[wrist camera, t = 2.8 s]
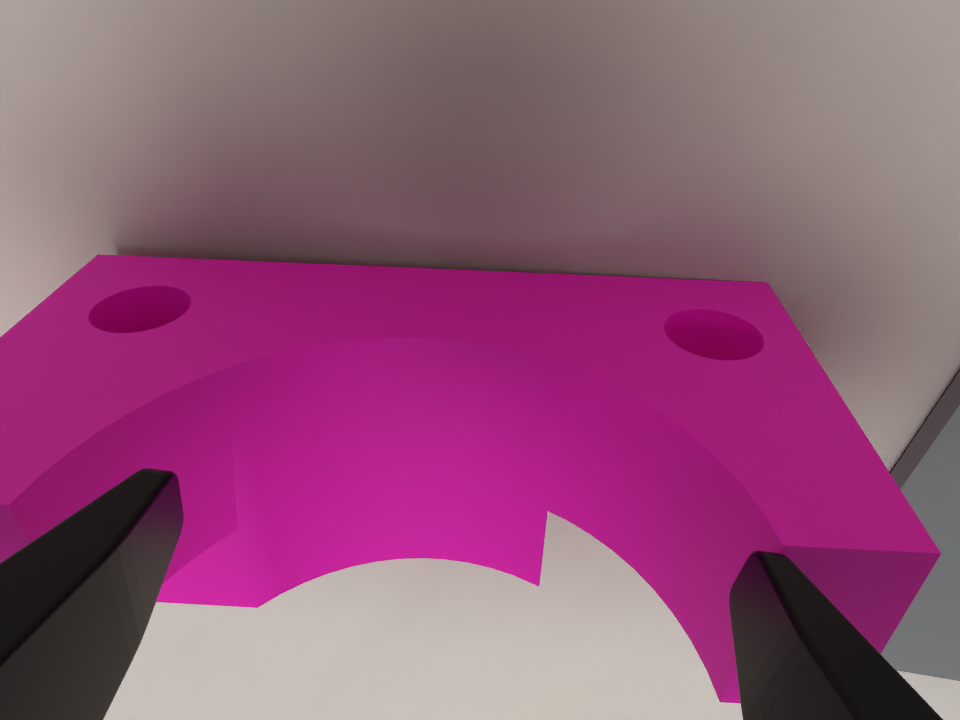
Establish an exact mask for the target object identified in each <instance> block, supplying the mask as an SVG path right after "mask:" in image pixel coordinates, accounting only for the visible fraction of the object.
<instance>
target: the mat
mask: <svg viewBox="0 0 960 720" xmlns="http://www.w3.org/2000/svg"><path fill="white" fill-rule="evenodd" d="M890 474H891V476H892V478H893V479H894V481H895V482H896V484H897V485H898V487H899V488H900V490H901V492H902V493H903V495H904V496H905V498H906V499H907V501H908V502H909V504H910V506H911V507H912V509H913V510H914V512H915V513H916V515H917V516H918V518H919V520H920V521H921V523H922V524H923V526H924V527H925V529H926V531H927V532H928V534H929V535H930V537H931V538H932V540H933V541H934V543H935V545H936V546H937V548H938V549H939V551H940V552H941V555H940V557H939V558H938V560H937V562H936V563H935V565H934V567H933V568H932V570H931V572H930V573H929V575H928V577H927V578H926V580H925V582H924V583H923V585H922V587H921V588H920V590H919V592H918V593H917V595H916V596H915V598H914V600H913V601H912V603H911V605H910V606H909V608H908V610H907V611H906V613H905V615H904V616H903V618H902V620H901V621H900V623H899V625H898V626H897V628H896V630H895V631H894V633H893V634H892V636H891V638H890V639H889V641H888V643H887V644H886V646H885V648H884V649H883V651H882V653H881V655H882V656H883V657H884V658H885V659H886V660H887V661H888V663H889V664H890V665H891V666H892V667H893V668H894V669H895V670H898V671H904V672H910V673H916V674H922V675H928V676H934V677H940V678H946V679H952V680H958V681H960V371H959V372H958V374H957V375H956V377H955V378H954V380H953V381H952V383H951V384H950V386H949V387H948V389H947V390H946V392H945V393H944V395H943V396H942V398H941V399H940V400H939V402H938V403H937V405H936V406H935V408H934V409H933V411H932V412H931V414H930V415H929V417H928V418H927V420H926V421H925V423H924V424H923V426H922V427H921V429H920V430H919V432H918V433H917V435H916V436H915V438H914V439H913V440H912V442H911V443H910V445H909V446H908V448H907V449H906V451H905V452H904V454H903V455H902V457H901V458H900V460H899V461H898V463H897V464H896V466H895V467H894V469H893V470H892V472H891V473H890Z"/></svg>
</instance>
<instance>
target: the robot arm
mask: <svg viewBox="0 0 960 720" xmlns="http://www.w3.org/2000/svg"><path fill="white" fill-rule="evenodd" d="M183 521H184V513H183V506H182V499H181V493H180V486H179V480H178V477H177V475H176V474H175V473H174V472H172V471H167V470H159V469H152V468H144V469H141V470H138V471H137V472H135V473H134V474H132V475H131V476H129V477H128V478H126V479H125V480H123V481H122V482H120V483H119V484H117V485H116V486H114V487H113V488H111V489H110V490H108V491H107V492H105V493H104V494H102V495H101V496H99V497H98V498H96V499H95V500H93V501H92V502H90V503H89V504H87V505H86V506H84V507H83V508H81V509H80V510H78V511H77V512H75V513H74V514H72V515H71V516H69V517H68V518H66V519H65V520H63V521H62V522H60V523H59V524H57V525H56V526H54V527H53V528H52V529H50V530H49V531H47V532H46V533H44V534H43V535H41V536H40V537H38V538H37V539H35V540H34V541H32V542H31V543H29V544H28V545H26V546H25V547H23V548H22V549H20V550H19V551H17V552H16V553H14V554H13V555H11V556H10V557H8V558H7V559H5V560H4V561H2V562H1V563H0V720H103V719H104V717H105V715H106V713H107V711H108V709H109V707H110V705H111V703H112V701H113V698H114V696H115V694H116V692H117V690H118V688H119V686H120V684H121V682H122V680H123V678H124V676H125V674H126V672H127V670H128V668H129V666H130V664H131V662H132V660H133V658H134V656H135V654H136V651H137V649H138V647H139V645H140V643H141V640H142V638H143V635H144V633H145V630H146V627H147V625H148V622H149V619H150V617H151V614H152V611H153V608H154V606H155V603H156V600H157V597H158V595H159V592H160V589H161V586H162V584H163V581H164V578H165V575H166V573H167V570H168V567H169V564H170V562H171V559H172V556H173V553H174V551H175V548H176V545H177V542H178V540H179V537H180V534H181V531H182V527H183ZM729 610H730V618H731V627H732V635H733V643H734V652H735V660H736V669H737V677H738V686H739V694H740V701H741V708H742V715H743V720H943V719H942V718H941V717H940V716H939V715H938V714H937V713H936V712H935V711H934V710H933V709H932V708H931V707H930V706H929V705H928V703H927V702H926V701H925V700H924V699H923V698H922V697H921V696H920V695H919V694H918V693H917V692H916V691H915V690H914V689H913V688H912V687H911V686H910V685H909V684H908V682H907V681H906V680H905V679H904V678H903V677H902V676H901V675H900V674H899V673H898V672H897V671H896V670H895V669H894V668H893V667H892V666H891V665H890V664H889V663H888V661H887V660H886V659H885V658H884V657H883V656H882V655H881V654H880V653H879V652H878V651H877V650H876V649H875V648H874V647H873V646H872V645H871V644H870V643H869V642H868V640H867V639H866V638H865V637H864V636H863V635H862V634H861V633H860V632H859V631H858V630H857V629H856V628H855V627H854V626H853V625H852V624H851V623H850V622H849V621H848V619H847V618H846V617H845V616H844V615H843V614H842V613H841V612H840V611H839V610H838V609H837V608H836V607H835V606H834V605H833V604H832V603H831V602H830V601H829V600H828V599H827V597H826V596H825V595H824V594H823V593H822V592H821V591H820V590H819V589H818V588H817V587H816V586H815V585H814V584H813V583H812V582H811V581H810V580H809V579H808V578H807V576H806V575H805V574H804V573H803V572H802V571H801V570H800V569H799V568H798V567H797V566H796V565H795V564H794V563H793V562H792V561H791V560H790V559H789V558H788V557H787V556H785V555H783V554H780V553H773V552H765V551H754V552H753V553H751V554H750V555H749V557H748V558H747V560H746V562H745V563H744V565H743V567H742V569H741V571H740V572H739V574H738V576H737V578H736V579H735V581H734V583H733V585H732V587H731V590H730V594H729Z"/></svg>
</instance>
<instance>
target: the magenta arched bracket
mask: <svg viewBox="0 0 960 720" xmlns="http://www.w3.org/2000/svg"><path fill="white" fill-rule="evenodd" d="M144 468H152V469H159V470H167V471H172V472H174V473H175V474H176V475H177V477H178V480H179V486H180V493H181V499H182V506H183V513H184V521H183V527H182V531H181V534H180V537H179V540H178V542H177V545H176V548H175V551H174V553H173V556H172V559H171V562H170V564H169V567H168V570H167V573H166V575H165V578H164V581H163V584H162V586H161V589H160V592H159V595H158V597H157V600H156V602H167V603H185V604H203V605H221V606H239V607H257V608H258V607H259V606H261V605H263V604H264V603H266V602H268V601H269V600H271V599H273V598H275V597H276V596H278V595H280V594H282V593H284V592H286V591H288V590H290V589H292V588H294V587H296V586H298V585H300V584H302V583H304V582H307V581H309V580H312V579H315V578H317V577H320V576H322V575H325V574H328V573H331V572H334V571H338V570H341V569H344V568H348V567H351V566H356V565H361V564H366V563H370V562H375V561H384V560H392V559H405V558H433V559H448V560H455V561H462V562H469V563H473V564H477V565H482V566H486V567H490V568H493V569H496V570H499V571H503V572H506V573H509V574H512V575H514V576H517V577H519V578H521V579H524V580H526V581H528V582H530V583H533V584H535V585H537V586H539V583H540V574H541V565H542V556H543V547H544V538H545V529H546V520H547V511H549V512H551V513H553V514H555V515H557V516H560V517H562V518H564V519H566V520H568V521H569V522H571V523H573V524H574V525H576V526H578V527H579V528H581V529H583V530H584V531H586V532H588V533H589V534H591V535H592V536H594V537H595V538H596V539H598V540H599V541H600V542H602V543H603V544H605V545H606V546H607V547H609V548H610V549H612V550H613V551H614V552H615V553H616V554H617V555H619V556H620V557H621V558H622V559H623V560H624V561H626V562H627V563H628V564H629V565H630V566H631V567H633V568H634V569H635V570H636V571H637V572H638V573H639V575H640V576H641V577H642V578H643V579H644V580H645V581H646V582H647V583H648V584H649V585H650V586H651V587H652V588H653V589H654V590H655V591H656V593H657V594H658V595H659V596H660V598H661V599H662V600H663V601H664V603H665V604H666V605H667V606H668V608H669V609H670V610H671V611H672V613H673V614H674V615H675V617H676V618H677V620H678V621H679V623H680V624H681V626H682V627H683V629H684V630H685V632H686V633H687V635H688V637H689V638H690V640H691V641H692V643H693V645H694V647H695V649H696V651H697V653H698V654H699V656H700V658H701V660H702V662H703V664H704V666H705V668H706V669H707V672H708V674H709V677H710V679H711V681H712V684H713V686H714V689H715V691H716V693H717V696H718V698H719V701H720V702H729V703H741V701H740V694H739V686H738V677H737V669H736V660H735V652H734V643H733V635H732V627H731V618H730V610H729V594H730V590H731V587H732V585H733V583H734V581H735V579H736V578H737V576H738V574H739V572H740V571H741V569H742V567H743V565H744V563H745V562H746V560H747V558H748V557H749V555H750V554H751V553H753V552H754V551H765V552H773V553H780V554H783V555H785V556H787V557H788V558H789V559H790V560H791V561H792V562H793V563H794V564H795V565H796V566H797V567H798V568H799V569H800V570H801V571H802V572H803V573H804V574H805V575H806V576H807V578H808V579H809V580H810V581H811V582H812V583H813V584H814V585H815V586H816V587H817V588H818V589H819V590H820V591H821V592H822V593H823V594H824V595H825V596H826V597H827V599H828V600H829V601H830V602H831V603H832V604H833V605H834V606H835V607H836V608H837V609H838V610H839V611H840V612H841V613H842V614H843V615H844V616H845V617H846V618H847V619H848V621H849V622H850V623H851V624H852V625H853V626H854V627H855V628H856V629H857V630H858V631H859V632H860V633H861V634H862V635H863V636H864V637H865V638H866V639H867V640H868V642H869V643H870V644H871V645H872V646H873V647H874V648H875V649H876V650H877V651H878V652H879V653H880V654H881V653H882V651H883V649H884V648H885V646H886V644H887V643H888V641H889V639H890V638H891V636H892V634H893V633H894V631H895V630H896V628H897V626H898V625H899V623H900V621H901V620H902V618H903V616H904V615H905V613H906V611H907V610H908V608H909V606H910V605H911V603H912V601H913V600H914V598H915V596H916V595H917V593H918V592H919V590H920V588H921V587H922V585H923V583H924V582H925V580H926V578H927V577H928V575H929V573H930V572H931V570H932V568H933V567H934V565H935V563H936V562H937V560H938V558H939V557H940V555H941V552H940V551H939V549H938V548H937V546H936V545H935V543H934V541H933V540H932V538H931V537H930V535H929V534H928V532H927V531H926V529H925V527H924V526H923V524H922V523H921V521H920V520H919V518H918V516H917V515H916V513H915V512H914V510H913V509H912V507H911V506H910V504H909V502H908V501H907V499H906V498H905V496H904V495H903V493H902V492H901V490H900V488H899V487H898V485H897V484H896V482H895V481H894V479H893V478H892V476H891V474H890V473H889V471H888V470H887V468H886V467H885V465H884V463H883V462H882V460H881V459H880V457H879V456H878V454H877V453H876V451H875V449H874V448H873V446H872V445H871V443H870V442H869V440H868V439H867V437H866V435H865V434H864V432H863V431H862V429H861V428H860V426H859V425H858V423H857V421H856V420H855V418H854V417H853V415H852V414H851V412H850V411H849V409H848V407H847V406H846V404H845V403H844V401H843V400H842V398H841V396H840V395H839V393H838V392H837V390H836V389H835V387H834V386H833V384H832V382H831V381H830V379H829V378H828V376H827V375H826V373H825V372H824V370H823V368H822V367H821V365H820V364H819V362H818V361H817V359H816V358H815V356H814V354H813V353H812V351H811V350H810V348H809V347H808V345H807V343H806V342H805V340H804V339H803V337H802V336H801V334H800V333H799V331H798V329H797V328H796V326H795V325H794V323H793V322H792V320H791V319H790V317H789V315H788V314H787V312H786V311H785V309H784V308H783V306H782V305H781V303H780V301H779V300H778V298H777V297H776V295H775V294H774V292H773V290H772V289H771V287H770V286H769V284H768V283H765V282H741V281H717V280H693V279H669V278H645V277H621V276H598V275H574V274H550V273H526V272H502V271H478V270H454V269H430V268H406V267H383V266H359V265H335V264H311V263H287V262H263V261H239V260H215V259H191V258H167V257H144V256H120V255H97V256H96V257H95V258H93V259H92V260H91V261H90V262H89V263H87V264H86V265H85V266H84V267H83V268H82V269H80V270H79V271H78V272H77V273H76V274H75V275H73V276H72V277H71V278H70V279H69V280H67V281H66V282H65V283H64V284H63V285H62V286H60V287H59V288H58V289H57V290H56V291H55V292H53V293H52V294H51V295H50V296H49V297H47V298H46V299H45V300H44V301H43V302H42V303H40V304H39V305H38V306H37V307H36V308H34V309H33V310H32V311H31V312H30V313H29V314H27V315H26V316H25V317H24V318H23V319H22V320H20V321H19V322H18V323H17V324H16V325H14V326H13V327H12V328H11V329H10V330H9V331H7V332H6V333H5V334H4V335H3V336H2V337H0V563H1V562H2V561H4V560H5V559H7V558H8V557H10V556H11V555H13V554H14V553H16V552H17V551H19V550H20V549H22V548H23V547H25V546H26V545H28V544H29V543H31V542H32V541H34V540H35V539H37V538H38V537H40V536H41V535H43V534H44V533H46V532H47V531H49V530H50V529H52V528H53V527H54V526H56V525H57V524H59V523H60V522H62V521H63V520H65V519H66V518H68V517H69V516H71V515H72V514H74V513H75V512H77V511H78V510H80V509H81V508H83V507H84V506H86V505H87V504H89V503H90V502H92V501H93V500H95V499H96V498H98V497H99V496H101V495H102V494H104V493H105V492H107V491H108V490H110V489H111V488H113V487H114V486H116V485H117V484H119V483H120V482H122V481H123V480H125V479H126V478H128V477H129V476H131V475H132V474H134V473H135V472H137V471H138V470H141V469H144Z"/></svg>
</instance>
